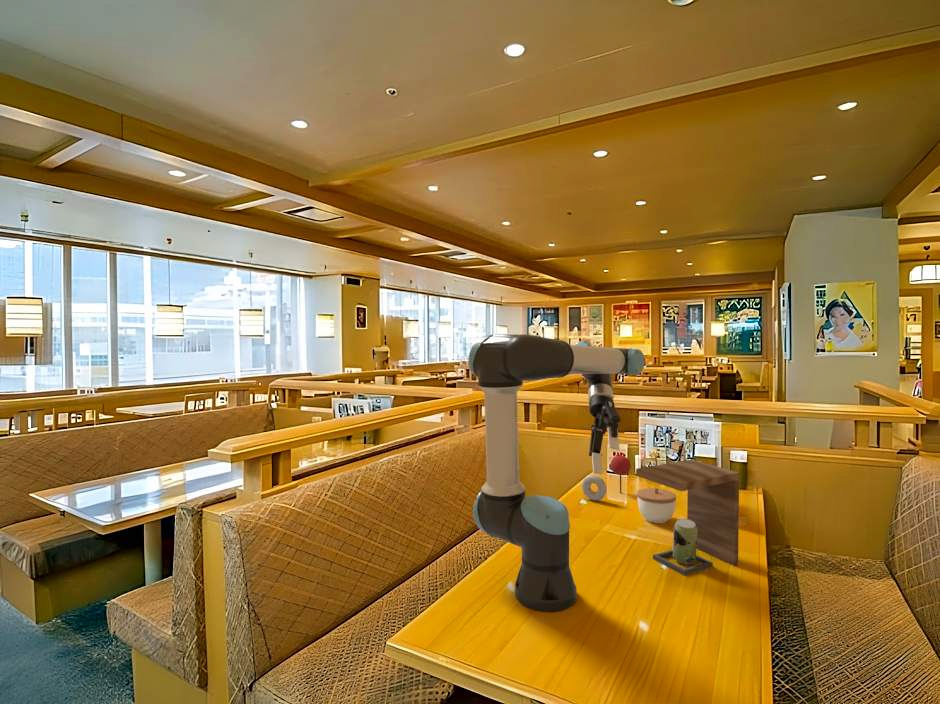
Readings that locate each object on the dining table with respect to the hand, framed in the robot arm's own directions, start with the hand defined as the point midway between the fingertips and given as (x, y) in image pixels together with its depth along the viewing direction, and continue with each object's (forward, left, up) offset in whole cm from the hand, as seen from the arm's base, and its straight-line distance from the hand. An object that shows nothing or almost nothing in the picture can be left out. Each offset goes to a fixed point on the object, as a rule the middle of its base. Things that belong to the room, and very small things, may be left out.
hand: (605, 461), depth 144 cm
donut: (+42, +29, -29) cm, 59 cm away
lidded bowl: (+39, +3, -29) cm, 49 cm away
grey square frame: (+13, -17, -28) cm, 35 cm away
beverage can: (+14, -17, -29) cm, 36 cm away
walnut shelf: (+14, -17, -28) cm, 36 cm away
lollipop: (+57, +26, -29) cm, 69 cm away
